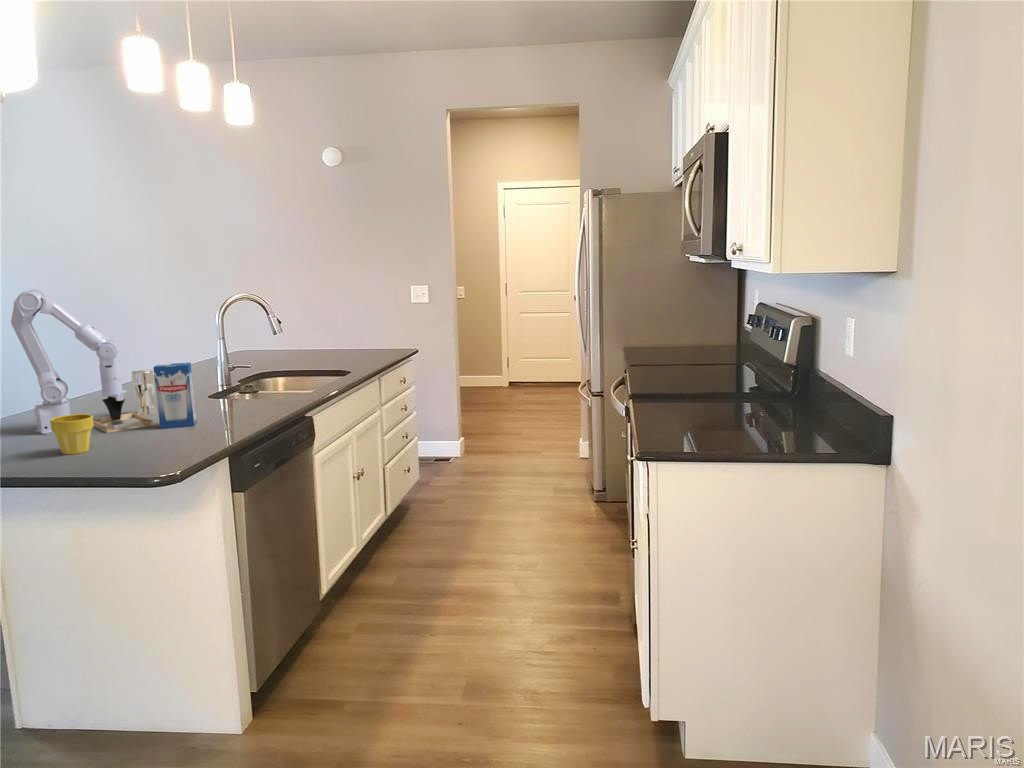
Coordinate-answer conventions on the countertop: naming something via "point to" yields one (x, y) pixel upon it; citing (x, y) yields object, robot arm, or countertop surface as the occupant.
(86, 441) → the plant pot
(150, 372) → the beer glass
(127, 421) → the cover plate
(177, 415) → the milk carton
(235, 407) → the countertop surface
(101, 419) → the tray
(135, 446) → the countertop surface
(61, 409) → the robot arm
